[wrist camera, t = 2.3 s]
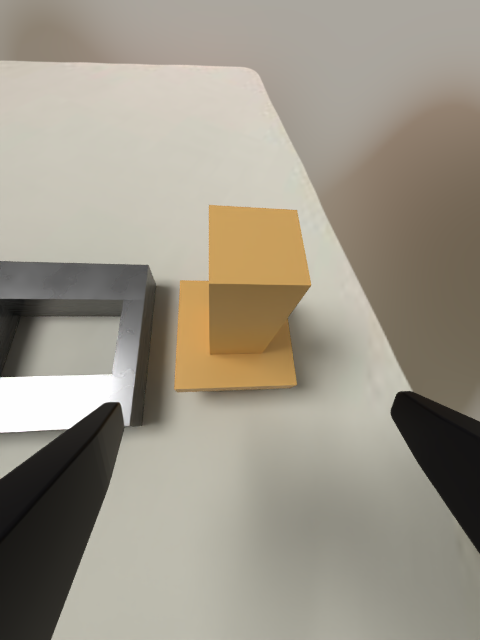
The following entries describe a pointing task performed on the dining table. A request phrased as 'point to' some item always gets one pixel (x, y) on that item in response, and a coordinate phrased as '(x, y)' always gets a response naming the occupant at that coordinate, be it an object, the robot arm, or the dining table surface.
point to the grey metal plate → (76, 300)
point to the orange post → (242, 303)
